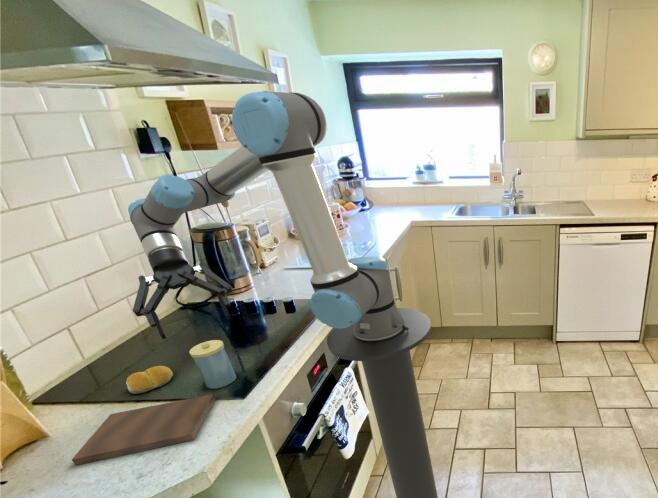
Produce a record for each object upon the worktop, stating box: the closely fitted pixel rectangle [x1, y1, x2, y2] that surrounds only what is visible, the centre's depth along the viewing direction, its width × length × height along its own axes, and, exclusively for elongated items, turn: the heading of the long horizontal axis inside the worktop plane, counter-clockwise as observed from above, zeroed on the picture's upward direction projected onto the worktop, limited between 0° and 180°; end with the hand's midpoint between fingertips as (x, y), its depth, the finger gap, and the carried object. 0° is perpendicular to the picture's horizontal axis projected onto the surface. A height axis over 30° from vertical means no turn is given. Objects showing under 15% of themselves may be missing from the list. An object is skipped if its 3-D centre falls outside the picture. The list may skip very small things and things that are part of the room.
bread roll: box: [125, 365, 174, 395], centre depth 103 cm, size 8×9×4 cm
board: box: [71, 393, 217, 466], centre depth 88 cm, size 20×14×2 cm
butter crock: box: [188, 339, 237, 390], centre depth 101 cm, size 7×7×11 cm
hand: (197, 326), depth 103 cm, fingers open, 13 cm apart
